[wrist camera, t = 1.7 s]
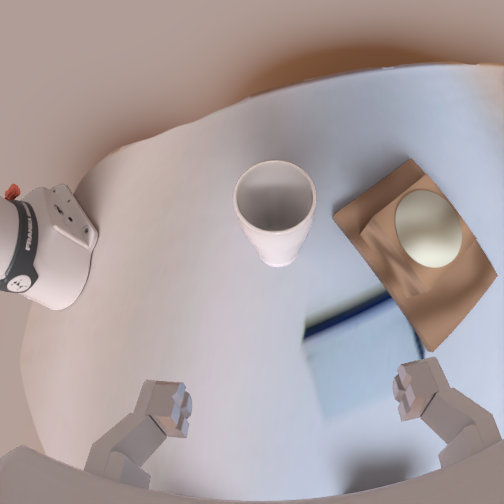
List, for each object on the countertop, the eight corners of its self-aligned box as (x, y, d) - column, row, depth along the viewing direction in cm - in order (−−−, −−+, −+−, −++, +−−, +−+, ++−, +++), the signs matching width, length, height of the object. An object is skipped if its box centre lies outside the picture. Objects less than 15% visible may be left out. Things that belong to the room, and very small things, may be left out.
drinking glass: (247, 227, 38) (226, 167, 24) (298, 217, 38) (305, 152, 23) (256, 278, 36) (238, 243, 22) (310, 268, 36) (327, 226, 21)
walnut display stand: (332, 218, 37) (342, 192, 30) (408, 163, 38) (426, 133, 31) (427, 351, 31) (458, 353, 24) (492, 277, 32) (523, 265, 25)
